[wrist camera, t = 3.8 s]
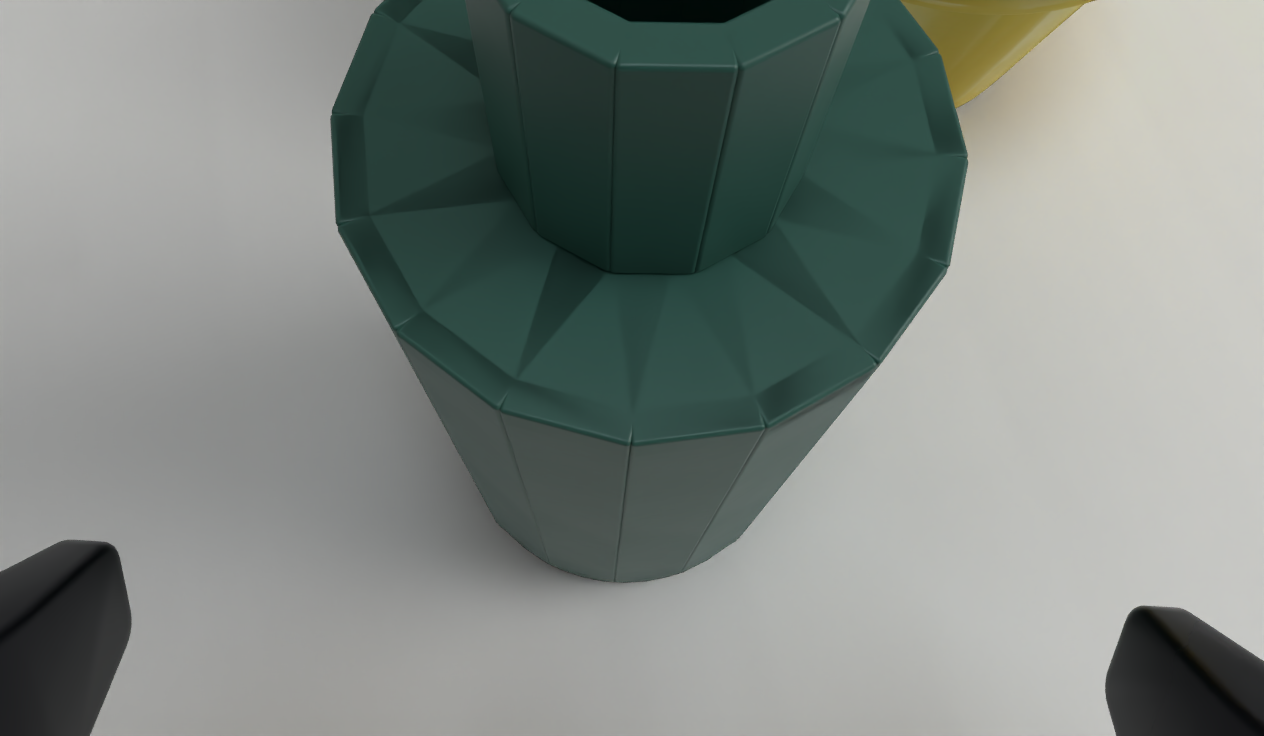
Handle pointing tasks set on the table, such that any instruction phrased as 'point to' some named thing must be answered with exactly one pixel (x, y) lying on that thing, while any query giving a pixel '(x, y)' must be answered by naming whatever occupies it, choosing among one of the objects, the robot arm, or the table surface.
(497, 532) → the table surface
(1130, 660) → the robot arm
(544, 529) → the bottle
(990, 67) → the flower pot
